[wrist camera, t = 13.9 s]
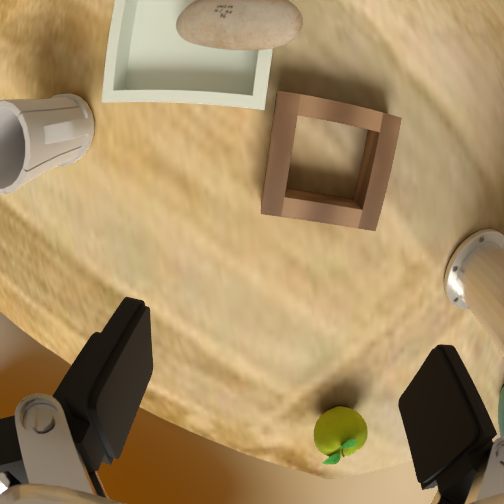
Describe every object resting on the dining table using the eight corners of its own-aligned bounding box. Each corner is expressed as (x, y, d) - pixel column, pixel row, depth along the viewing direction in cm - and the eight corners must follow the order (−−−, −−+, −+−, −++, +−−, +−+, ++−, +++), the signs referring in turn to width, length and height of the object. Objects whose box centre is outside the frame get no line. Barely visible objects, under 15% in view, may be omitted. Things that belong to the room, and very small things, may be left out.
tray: (283, -27, 22) (285, -40, 19) (264, 109, 29) (264, 110, 26) (136, -27, 22) (124, -37, 19) (117, 101, 29) (101, 102, 26)
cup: (79, 67, 27) (10, 65, 16) (121, 122, 30) (58, 137, 19) (30, 128, 30) (-37, 148, 19) (66, 179, 33) (4, 214, 22)
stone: (171, 0, 22) (255, -33, 14) (224, 10, 26) (315, -7, 18) (164, 53, 24) (247, 37, 17) (218, 58, 28) (309, 55, 21)
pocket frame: (388, 115, 29) (401, 117, 26) (365, 219, 34) (375, 231, 31) (277, 92, 28) (278, 90, 25) (261, 202, 34) (260, 214, 31)
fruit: (302, 419, 52) (305, 465, 43) (331, 392, 48) (338, 441, 39) (341, 427, 53) (347, 469, 44) (371, 401, 49) (382, 446, 40)
